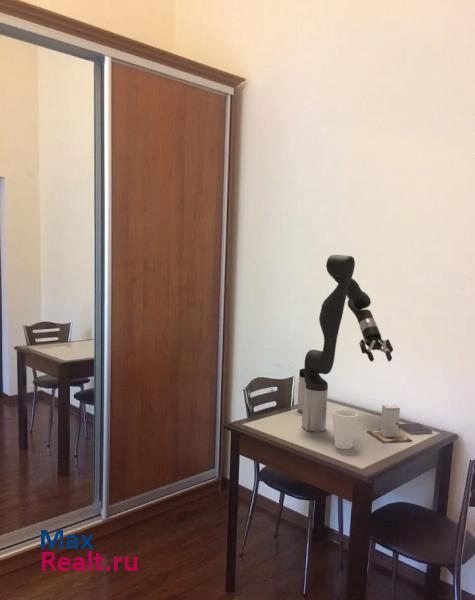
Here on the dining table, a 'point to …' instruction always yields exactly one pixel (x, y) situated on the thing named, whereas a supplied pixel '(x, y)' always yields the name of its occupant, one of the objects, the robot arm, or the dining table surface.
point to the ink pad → (415, 428)
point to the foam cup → (344, 427)
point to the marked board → (389, 439)
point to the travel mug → (301, 390)
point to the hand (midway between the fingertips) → (381, 360)
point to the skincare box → (390, 420)
